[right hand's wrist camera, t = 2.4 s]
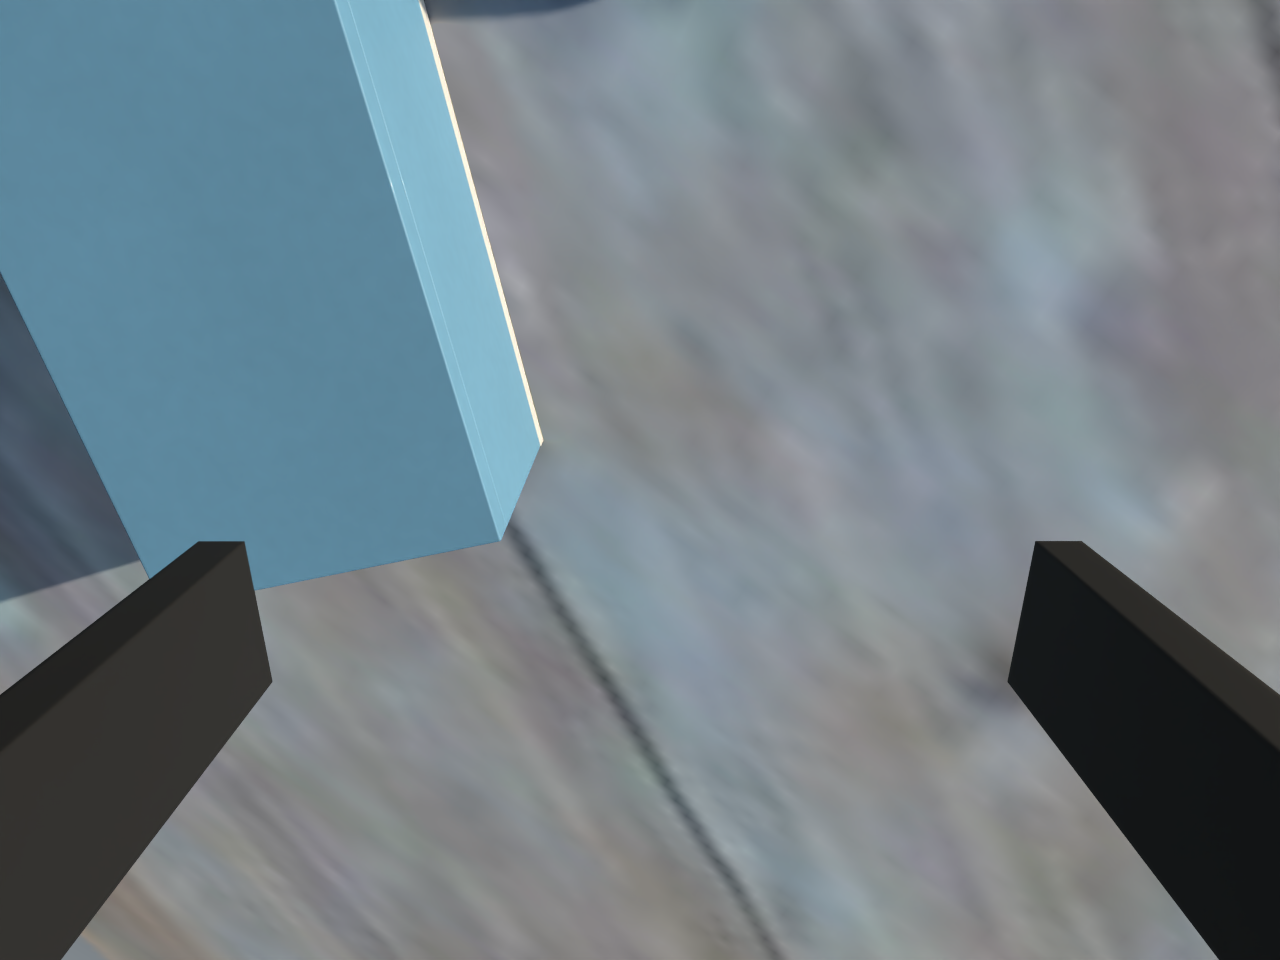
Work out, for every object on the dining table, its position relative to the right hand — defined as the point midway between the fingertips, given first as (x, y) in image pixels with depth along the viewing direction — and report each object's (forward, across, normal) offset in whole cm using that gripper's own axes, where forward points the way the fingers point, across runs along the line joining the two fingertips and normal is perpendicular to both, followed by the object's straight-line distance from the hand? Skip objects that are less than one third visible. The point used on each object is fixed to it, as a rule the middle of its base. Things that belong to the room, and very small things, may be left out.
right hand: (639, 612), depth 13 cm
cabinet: (+18, +11, -6) cm, 22 cm away
